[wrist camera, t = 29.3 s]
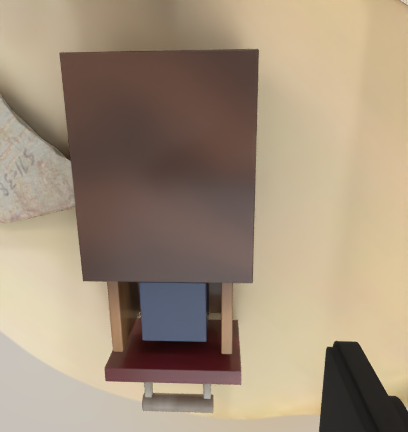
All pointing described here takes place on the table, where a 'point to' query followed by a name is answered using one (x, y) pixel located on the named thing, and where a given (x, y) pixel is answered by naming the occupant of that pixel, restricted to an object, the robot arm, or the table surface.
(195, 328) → the block
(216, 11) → the table surface
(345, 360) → the robot arm
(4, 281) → the table surface
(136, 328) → the drawer
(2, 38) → the table surface
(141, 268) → the cabinet
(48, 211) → the stone
